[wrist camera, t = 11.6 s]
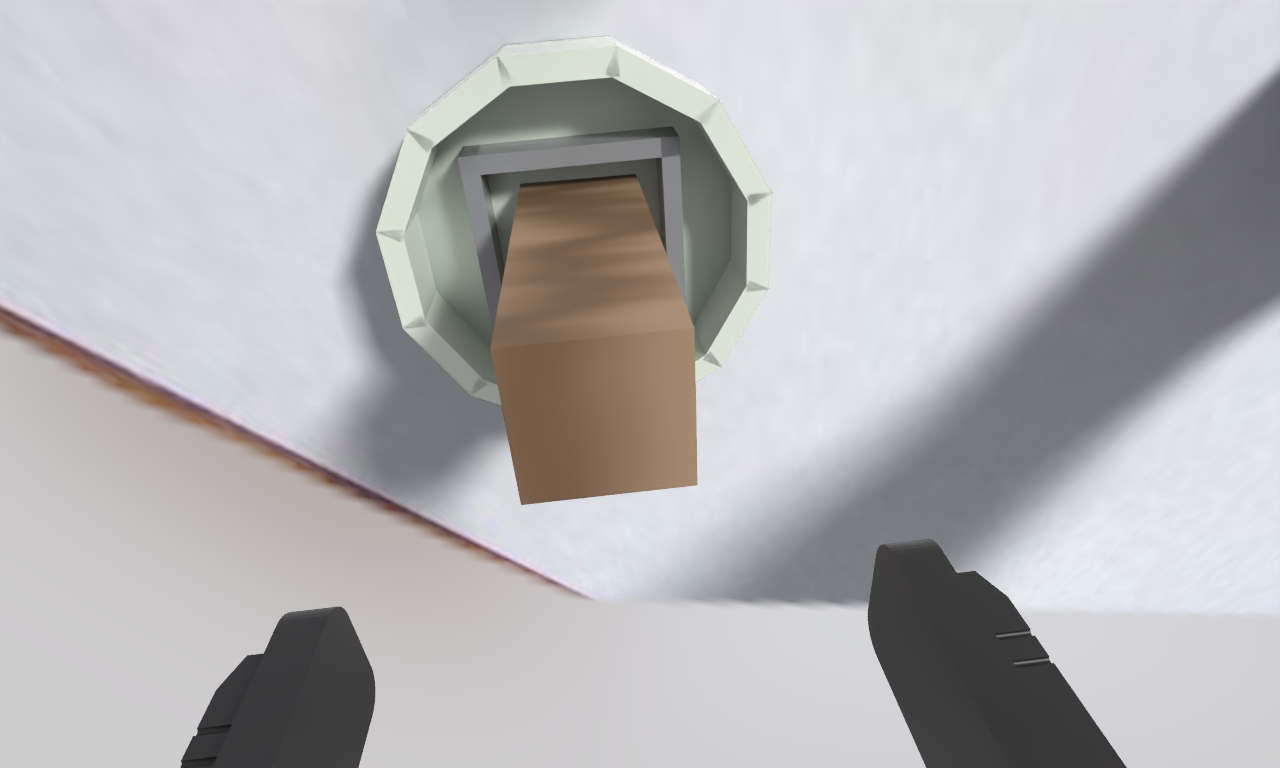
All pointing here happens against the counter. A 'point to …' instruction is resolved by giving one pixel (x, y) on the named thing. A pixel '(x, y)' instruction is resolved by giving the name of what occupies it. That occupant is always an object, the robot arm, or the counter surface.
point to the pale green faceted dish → (562, 150)
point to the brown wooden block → (593, 346)
